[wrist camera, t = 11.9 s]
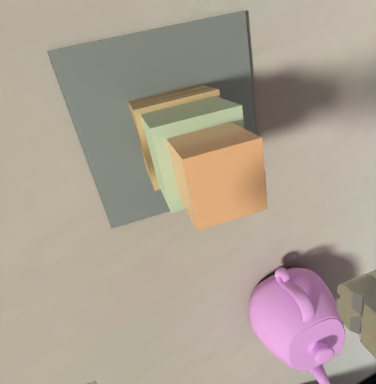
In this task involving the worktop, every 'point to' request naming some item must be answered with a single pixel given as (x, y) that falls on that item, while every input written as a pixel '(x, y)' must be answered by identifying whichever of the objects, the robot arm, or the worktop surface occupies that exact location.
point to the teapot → (297, 320)
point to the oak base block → (157, 104)
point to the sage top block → (178, 125)
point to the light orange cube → (219, 173)
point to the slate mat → (144, 87)
